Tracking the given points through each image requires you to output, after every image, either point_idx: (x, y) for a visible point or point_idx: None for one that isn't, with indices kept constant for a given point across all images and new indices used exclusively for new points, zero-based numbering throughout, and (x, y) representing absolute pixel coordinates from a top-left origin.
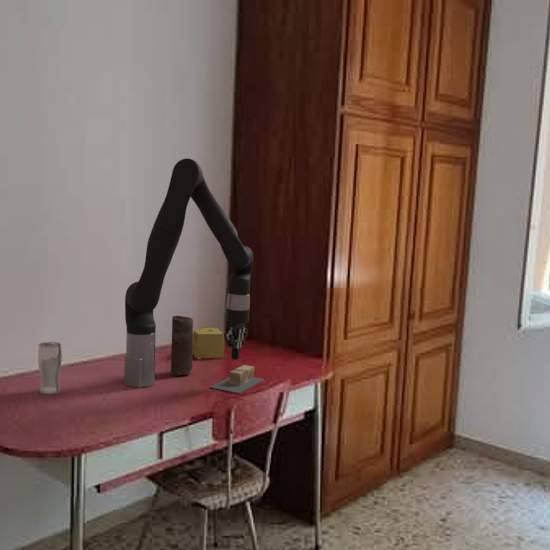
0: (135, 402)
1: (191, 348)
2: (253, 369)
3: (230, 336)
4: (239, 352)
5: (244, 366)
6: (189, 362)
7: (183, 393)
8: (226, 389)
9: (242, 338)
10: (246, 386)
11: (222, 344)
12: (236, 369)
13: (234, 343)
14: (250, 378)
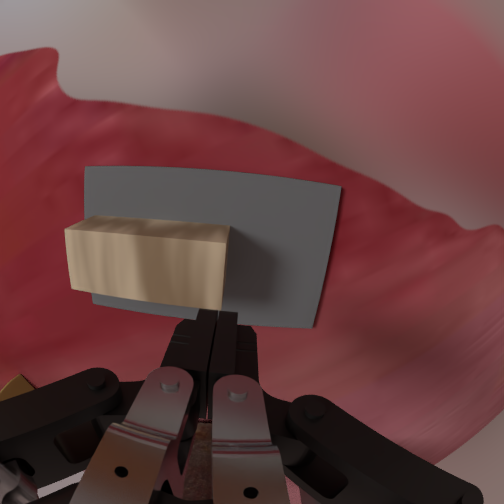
0: (451, 389)
1: (183, 490)
2: (77, 226)
3: (478, 497)
4: (193, 338)
5: (88, 277)
6: (200, 452)
7: (387, 360)
8: (319, 258)
9: (129, 456)
10: (231, 191)
11: (3, 397)
12: (159, 295)
13: (353, 442)
14: (122, 218)
